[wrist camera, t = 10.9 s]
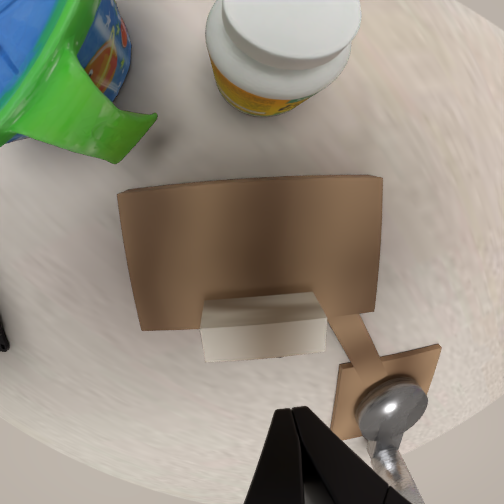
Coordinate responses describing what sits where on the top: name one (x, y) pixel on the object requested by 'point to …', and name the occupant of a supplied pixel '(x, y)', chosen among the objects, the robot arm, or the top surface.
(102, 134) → the snack cup
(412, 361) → the brown panel stand
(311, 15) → the supplement bottle
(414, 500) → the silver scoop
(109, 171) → the top surface
